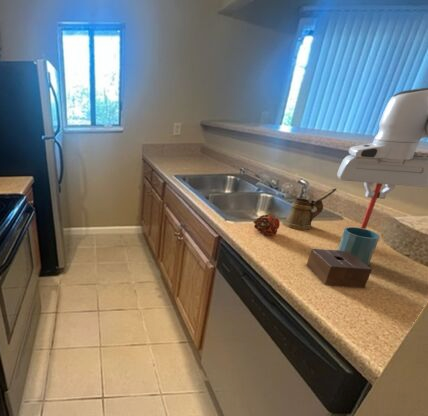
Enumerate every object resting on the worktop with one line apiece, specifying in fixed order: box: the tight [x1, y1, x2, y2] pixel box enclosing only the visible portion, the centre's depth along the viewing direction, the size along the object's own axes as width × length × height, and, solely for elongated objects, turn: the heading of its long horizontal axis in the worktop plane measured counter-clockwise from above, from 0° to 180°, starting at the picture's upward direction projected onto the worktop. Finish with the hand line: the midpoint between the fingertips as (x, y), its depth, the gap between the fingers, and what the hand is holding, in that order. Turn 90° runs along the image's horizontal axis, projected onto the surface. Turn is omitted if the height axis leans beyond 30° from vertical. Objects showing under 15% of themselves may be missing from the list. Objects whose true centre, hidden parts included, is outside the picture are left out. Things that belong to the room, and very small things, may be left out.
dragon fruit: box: [253, 213, 280, 236], centre depth 108 cm, size 8×8×12 cm
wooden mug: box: [283, 187, 338, 231], centre depth 110 cm, size 9×14×18 cm, turn 47°
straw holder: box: [306, 248, 373, 288], centre depth 81 cm, size 10×10×6 cm
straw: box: [360, 183, 383, 229], centre depth 82 cm, size 1×1×20 cm
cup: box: [337, 226, 380, 267], centre depth 88 cm, size 8×8×10 cm
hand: (374, 197), depth 82 cm, fingers closed on straw, 1 cm apart
